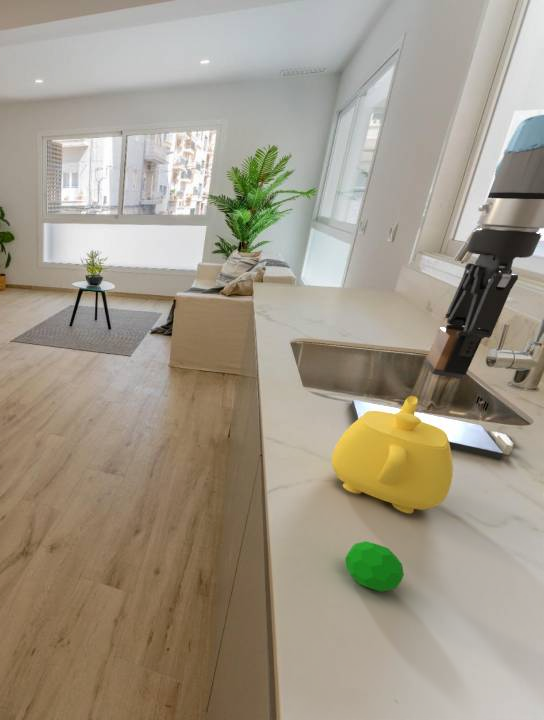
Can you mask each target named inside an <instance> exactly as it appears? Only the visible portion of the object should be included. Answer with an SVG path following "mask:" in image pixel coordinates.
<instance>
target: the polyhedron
mask: <svg viewBox="0 0 544 720" xmlns="http://www.w3.org/2000/svg"><path fill="white" fill-rule="evenodd" d="M344 560H345V566H346V569H347V571H348V572H349V574H350V576H351V577H352V578H353V580H355V582H357V583H358V584H359V585H361V586H364V587H366V588H368V589H372V590H374V591H377V592H381V593H382V592H387V591H392V590H394V589H396V588H397V587H398V586H399V585H400V583H401V582H402V581H403V578H404V575H405V574H404V567H403V563H402V562H401V560H400V559H399V558H398V556H396V554H395V553H394V552H393V551H392V550H391V549H390V548H389V547H387V546H383V545H380V544H377V543H374V542H370V541H367V540H365V541H360V542H357V543H354V545H353V546H352V547H351V548H350V549H349V551H348V552H347V554H346V556H345V558H344Z"/></svg>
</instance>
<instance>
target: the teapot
mask: <svg viewBox="0 0 544 720" xmlns="http://www.w3.org/2000/svg"><path fill="white" fill-rule="evenodd" d="M418 399H419V398H417V396H415V395H409V396H407V398H406V399H405V401H404V402H403V404H402V406H401V408H400V409H401V410H400V411H399V412H397V413H395V414H393V413H388V412H383V411H374V410H372V411H368V412H366V413H365V414H364V415H362V416H361V417H360V418H359V419H358V420H357V421H355V420H354V422H353V423H351V425H350V426H349V427H348V428H347V429H346V430H345V431H344V432H343V434H341V437H340V438H339V439H338V441H337V443H336V445H335V446H334V449H333V452H332V453H331V454H332V455H331V466H332V468H333V471H334V473H335V475H336V477H337V478H338V479H339V480H340V481H342V482H343V484H342V487H343V488H344V490H346V491H348V492H350V493H353V494H356V495H357V494H362V493H363V494H366V495H369V496H371V497H373V498H375V499H378V500H382V501H384V502H387V503H391V505H392V506H393V508H394V509H396V510H398V511H399V512H402V513H405V514H413V513H414V512H415V510H420V511H421V510H428V509H432V508H434V507H436V506H438V505H440V504H442V503H443V502H444V501H445V499H446V498H447V497H448V494H449V491H450V488H451V485H452V481H453V474H454V473H453V472H454V464H453V457H452V455H453V454H452V449H450V444H449V440H448V436H447V434H446V433H445V432H444V431H443V430H442V429H440V428H438V427H436V426H433V425H431V424H428V423H425V422H422V421H421V419H420V418H418V417H417V416H415V412H416V410H417V406H418V402H419V400H418Z"/></svg>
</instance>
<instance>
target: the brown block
mask: <svg viewBox="0 0 544 720" xmlns="http://www.w3.org/2000/svg"><path fill="white" fill-rule="evenodd" d="M457 332H463V331H460V330H454V329H447V328H446V327H439V329H438V331H437V333H436V334H435V337H434V340H433V342H432V344H431V347H430V349H429V351H428V354H427V356H426V359H425V361H424V366H426V367H427V369H428V370H429V372H430V373H431V374H432V375H436V376H442V377H447V378H452V379H458V380H463V379H464V377H465V375H462V374H456V373H450V372H445V371H444V368H445V365H446V363H447V361H448V358H449V356H450V354H451V351H452V349H453V347H454V344H455V342H456V340H457V337H458V335H456V333H457Z"/></svg>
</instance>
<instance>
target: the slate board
mask: <svg viewBox="0 0 544 720" xmlns="http://www.w3.org/2000/svg"><path fill="white" fill-rule="evenodd" d="M350 406H351V410H352V414H353V418H354V422H355V421H357V420H358V419H359V418H360V417H361V416H362V415H364V414H365V413H366V412H368V411H372V410H374V411H383V412H388V413H393V414H395V413H397V412H399V411H400V410H401V408H398V407H397V408H396V407H392V406H386V405H382V404H377V403H372V402H367V401H362V400H357V399H352V401H351V404H350ZM415 416H417V417H418V418H420V419H421V421H422V422H425V423H428V424H431V425H433V426H436V427H438V428H440V429H442V430H443V431H444V432H445V433H446V434H447V436H448V440H449V444H450V449H451V450H454V451H459V452H463V453H468V454H472V455H476V456H481V457H485V458H490V459H494V460H498V461H502V458H503V457H504V455H505V454H504V453H503V452H502V451H501V450H500V448H499V447H498V446H497V445H496V444H495V441H494V439H492V436H491V435H489V434H488V432H487V431H486V430H485V429H484V427H483V426H482V425H480V424H476V423H471V422H467V421H462V420H456V419H451V418H446V417H441V416H436V415H433V414H432V415H431V414H427V413H421V412H416V411H415Z"/></svg>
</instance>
